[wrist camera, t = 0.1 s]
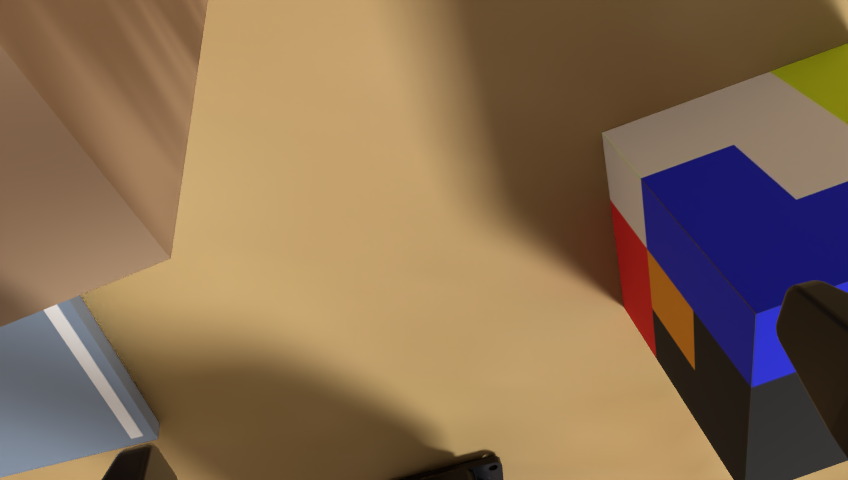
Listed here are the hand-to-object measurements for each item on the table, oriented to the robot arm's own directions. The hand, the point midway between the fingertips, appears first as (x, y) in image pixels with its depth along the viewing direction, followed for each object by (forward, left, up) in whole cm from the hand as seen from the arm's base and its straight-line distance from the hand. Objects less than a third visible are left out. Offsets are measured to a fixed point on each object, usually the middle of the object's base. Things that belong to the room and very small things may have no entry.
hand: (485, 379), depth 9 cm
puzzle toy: (-10, -14, -15) cm, 23 cm away
